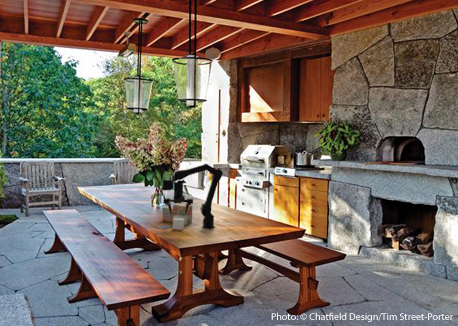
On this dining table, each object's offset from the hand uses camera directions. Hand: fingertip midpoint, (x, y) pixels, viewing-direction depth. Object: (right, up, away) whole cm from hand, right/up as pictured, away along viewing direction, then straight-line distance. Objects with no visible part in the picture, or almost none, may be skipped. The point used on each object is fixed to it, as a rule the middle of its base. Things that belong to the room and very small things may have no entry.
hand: (178, 214), depth 269 cm
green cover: (0, -9, +12) cm, 15 cm away
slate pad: (-9, -9, +2) cm, 13 cm away
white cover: (0, -9, +1) cm, 9 cm away
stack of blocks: (-3, -8, +22) cm, 23 cm away
